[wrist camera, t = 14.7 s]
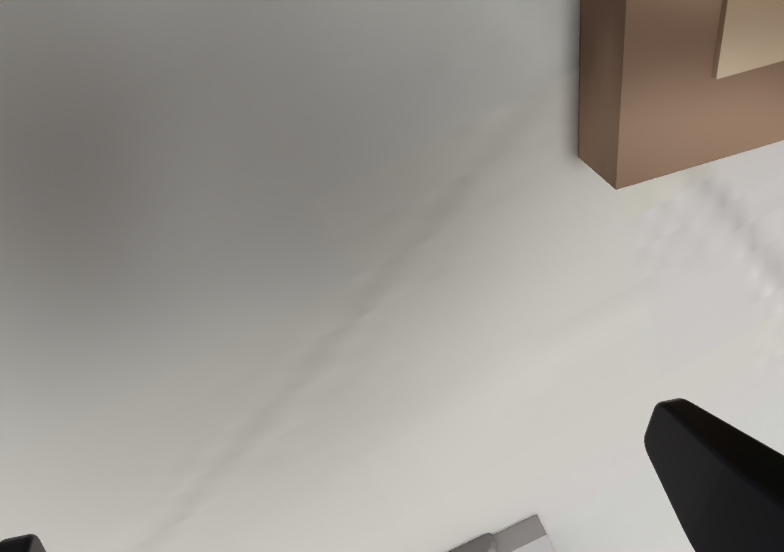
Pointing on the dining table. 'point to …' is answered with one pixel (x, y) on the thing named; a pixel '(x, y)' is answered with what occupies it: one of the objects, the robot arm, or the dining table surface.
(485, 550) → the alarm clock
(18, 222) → the dining table surface
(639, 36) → the walnut stand
